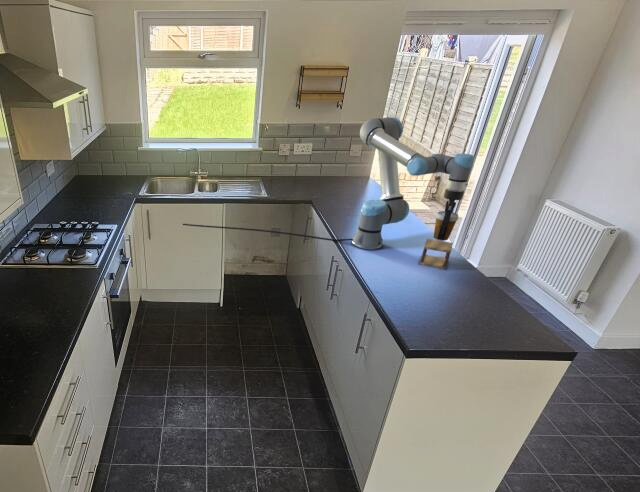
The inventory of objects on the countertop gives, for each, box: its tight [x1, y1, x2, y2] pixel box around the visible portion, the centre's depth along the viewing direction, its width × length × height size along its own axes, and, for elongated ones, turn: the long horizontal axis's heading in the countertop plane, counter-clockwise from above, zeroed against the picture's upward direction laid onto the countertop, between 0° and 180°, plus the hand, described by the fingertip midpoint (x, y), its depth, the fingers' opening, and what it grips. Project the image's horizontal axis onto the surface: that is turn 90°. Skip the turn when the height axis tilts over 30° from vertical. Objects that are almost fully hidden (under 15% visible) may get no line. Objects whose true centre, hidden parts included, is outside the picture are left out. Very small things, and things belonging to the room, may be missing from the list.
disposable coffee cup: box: [433, 210, 459, 241], centre depth 206 cm, size 10×10×12 cm
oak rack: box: [419, 238, 454, 270], centre depth 213 cm, size 12×12×10 cm
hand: (441, 236), depth 208 cm, fingers closed on disposable coffee cup, 8 cm apart
